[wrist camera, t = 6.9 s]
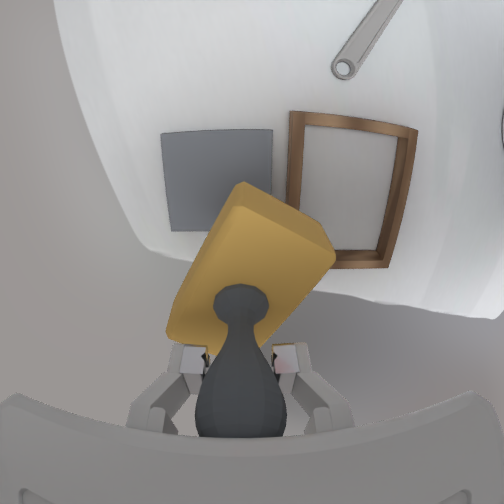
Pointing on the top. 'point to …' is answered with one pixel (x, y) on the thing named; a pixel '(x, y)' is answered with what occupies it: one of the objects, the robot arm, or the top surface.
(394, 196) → the wooden frame
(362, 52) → the adjustable wrench
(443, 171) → the top surface
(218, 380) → the rubber stamp
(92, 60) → the top surface
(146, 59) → the top surface
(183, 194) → the slate mat
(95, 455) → the robot arm
